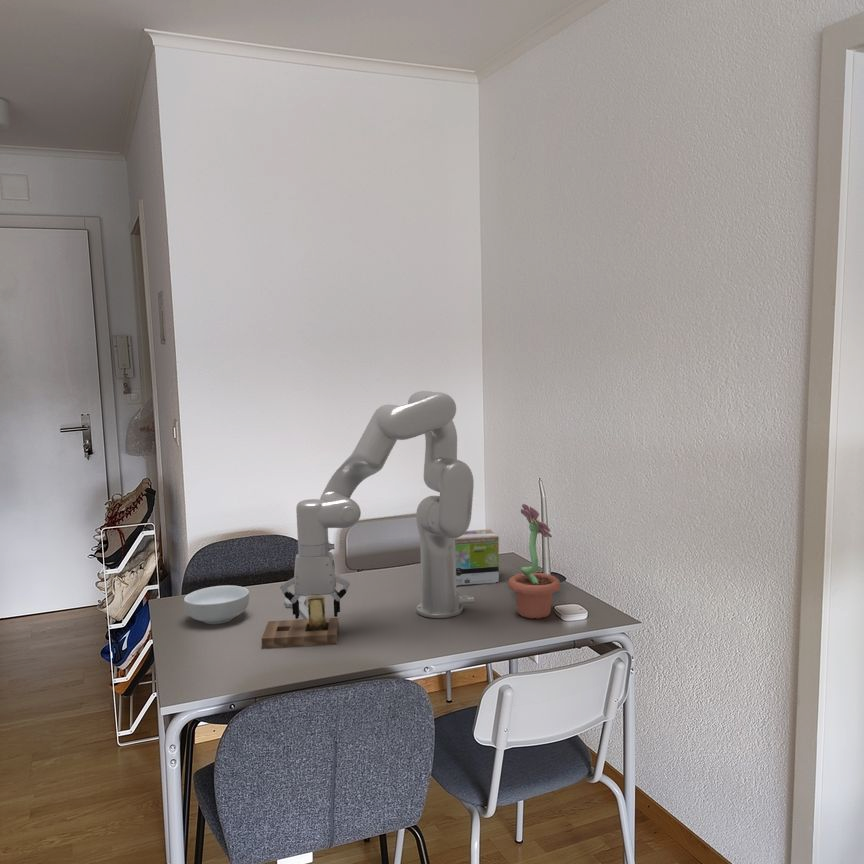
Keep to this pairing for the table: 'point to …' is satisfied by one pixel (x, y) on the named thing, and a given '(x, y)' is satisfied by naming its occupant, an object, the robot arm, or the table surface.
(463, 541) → the tea box
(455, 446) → the robot arm
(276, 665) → the table surface
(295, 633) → the socket board
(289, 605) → the adjustable wrench
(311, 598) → the brass peg
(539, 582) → the decorative flower
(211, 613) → the cereal bowl
